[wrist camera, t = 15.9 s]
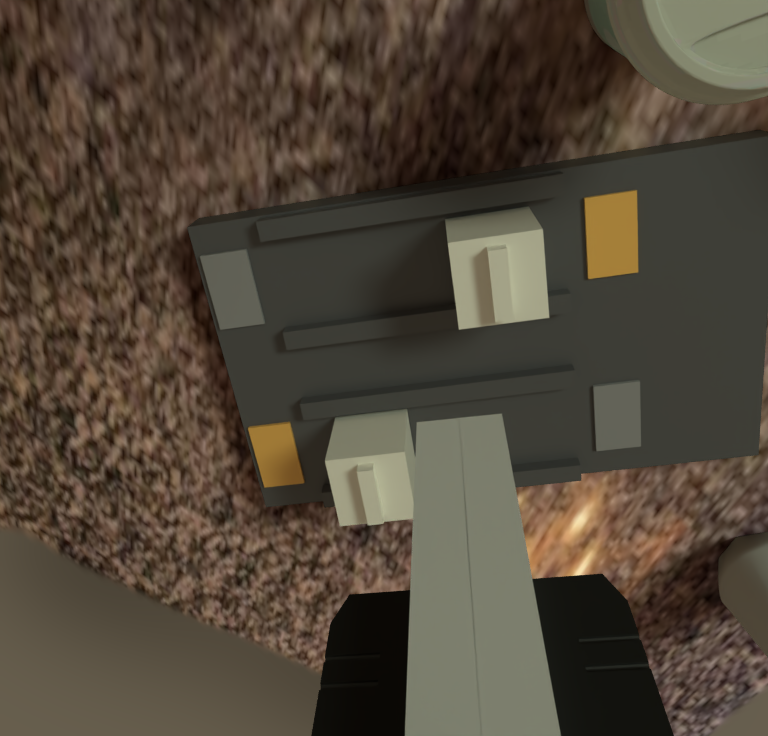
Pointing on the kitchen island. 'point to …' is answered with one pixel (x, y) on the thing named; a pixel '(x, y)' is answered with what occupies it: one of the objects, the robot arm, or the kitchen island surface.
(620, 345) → the switch bank
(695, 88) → the coffee cup
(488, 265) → the white slider knob
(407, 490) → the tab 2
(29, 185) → the kitchen island surface
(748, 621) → the salt shaker
